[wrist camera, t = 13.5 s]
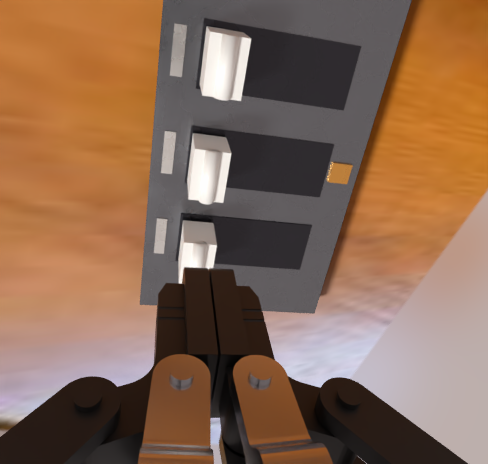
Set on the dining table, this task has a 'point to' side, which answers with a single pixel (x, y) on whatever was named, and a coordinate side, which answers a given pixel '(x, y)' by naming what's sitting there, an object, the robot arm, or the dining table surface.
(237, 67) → the breaker
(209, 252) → the breaker
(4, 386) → the dining table surface
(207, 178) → the breaker
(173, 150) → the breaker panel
